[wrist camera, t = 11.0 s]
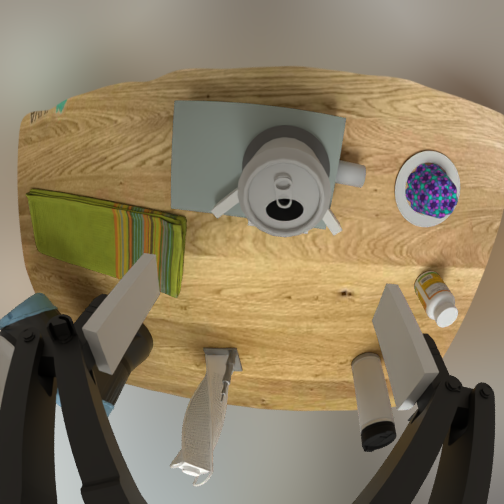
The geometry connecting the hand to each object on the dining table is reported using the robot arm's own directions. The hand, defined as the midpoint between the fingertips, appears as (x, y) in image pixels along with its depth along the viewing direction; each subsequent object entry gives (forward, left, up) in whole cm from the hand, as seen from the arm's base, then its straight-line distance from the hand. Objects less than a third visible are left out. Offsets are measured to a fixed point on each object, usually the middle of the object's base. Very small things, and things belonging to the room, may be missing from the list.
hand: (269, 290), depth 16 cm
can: (0, +3, -20) cm, 20 cm away
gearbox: (-2, +3, -26) cm, 27 cm away
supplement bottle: (+28, -13, -27) cm, 41 cm away
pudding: (+22, +3, -27) cm, 35 cm away
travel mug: (+23, -34, -27) cm, 49 cm away
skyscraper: (-7, -39, -27) cm, 48 cm away
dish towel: (-32, -14, -27) cm, 44 cm away
